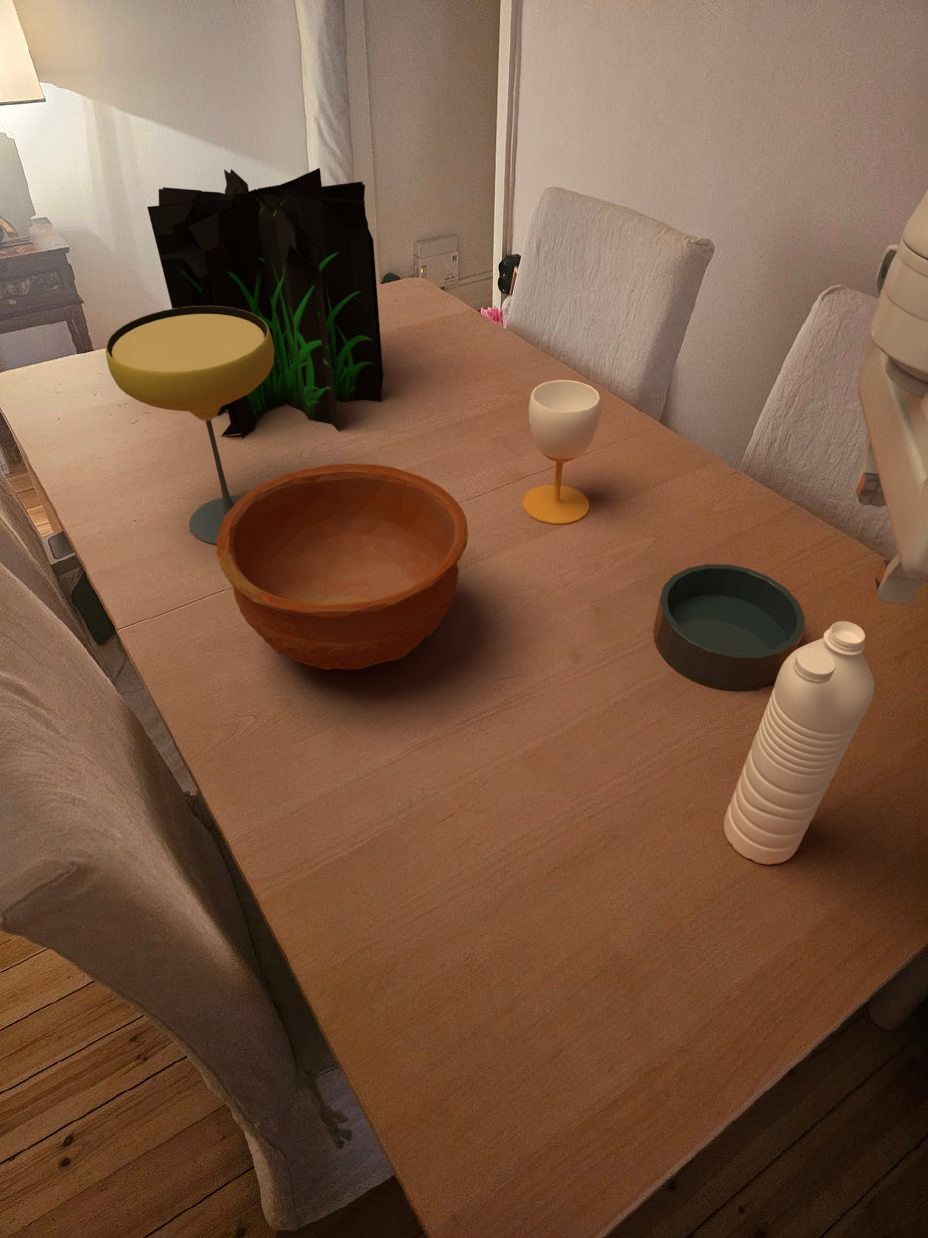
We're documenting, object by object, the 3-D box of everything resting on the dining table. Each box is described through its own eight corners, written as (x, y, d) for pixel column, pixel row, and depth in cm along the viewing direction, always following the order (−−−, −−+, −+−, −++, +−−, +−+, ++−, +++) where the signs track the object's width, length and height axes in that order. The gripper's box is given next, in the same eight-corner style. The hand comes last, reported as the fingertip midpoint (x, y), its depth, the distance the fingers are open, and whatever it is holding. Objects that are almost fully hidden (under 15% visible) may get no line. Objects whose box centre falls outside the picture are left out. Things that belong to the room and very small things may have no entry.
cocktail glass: (263, 468, 117) (229, 292, 101) (325, 528, 107) (299, 343, 90) (140, 511, 110) (80, 329, 93) (193, 581, 99) (138, 390, 82)
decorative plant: (202, 363, 142) (158, 172, 122) (374, 349, 146) (359, 161, 126) (192, 449, 121) (137, 235, 101) (393, 430, 125) (379, 221, 105)
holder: (812, 632, 92) (825, 599, 89) (758, 713, 84) (771, 679, 80) (690, 580, 99) (698, 547, 96) (629, 650, 90) (635, 616, 87)
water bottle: (748, 790, 77) (829, 587, 60) (811, 835, 73) (916, 632, 56) (693, 846, 72) (762, 644, 55) (757, 897, 69) (852, 697, 52)
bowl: (203, 626, 93) (171, 518, 83) (382, 539, 105) (373, 436, 95) (322, 760, 79) (301, 650, 69) (513, 643, 91) (519, 535, 81)
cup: (552, 533, 106) (562, 421, 95) (508, 500, 111) (513, 391, 101) (603, 509, 110) (618, 399, 99) (559, 478, 115) (568, 371, 104)
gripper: (1129, 428, 31) (976, 678, 40) (999, 246, 46) (909, 461, 55) (951, 409, 32) (841, 657, 42) (880, 238, 47) (810, 450, 56)
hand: (879, 544), depth 48 cm, fingers open, 8 cm apart
